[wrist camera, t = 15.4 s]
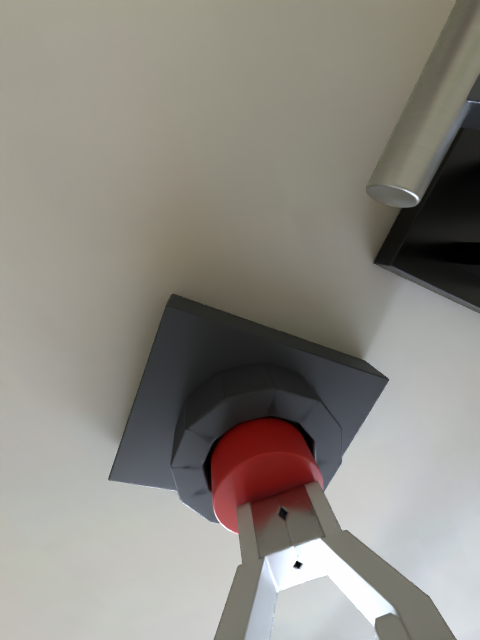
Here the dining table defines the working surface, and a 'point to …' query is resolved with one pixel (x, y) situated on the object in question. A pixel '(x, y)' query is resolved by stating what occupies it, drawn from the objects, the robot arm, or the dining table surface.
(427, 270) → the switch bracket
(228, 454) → the button
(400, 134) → the switch lever
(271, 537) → the robot arm
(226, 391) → the control block
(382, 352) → the dining table surface
